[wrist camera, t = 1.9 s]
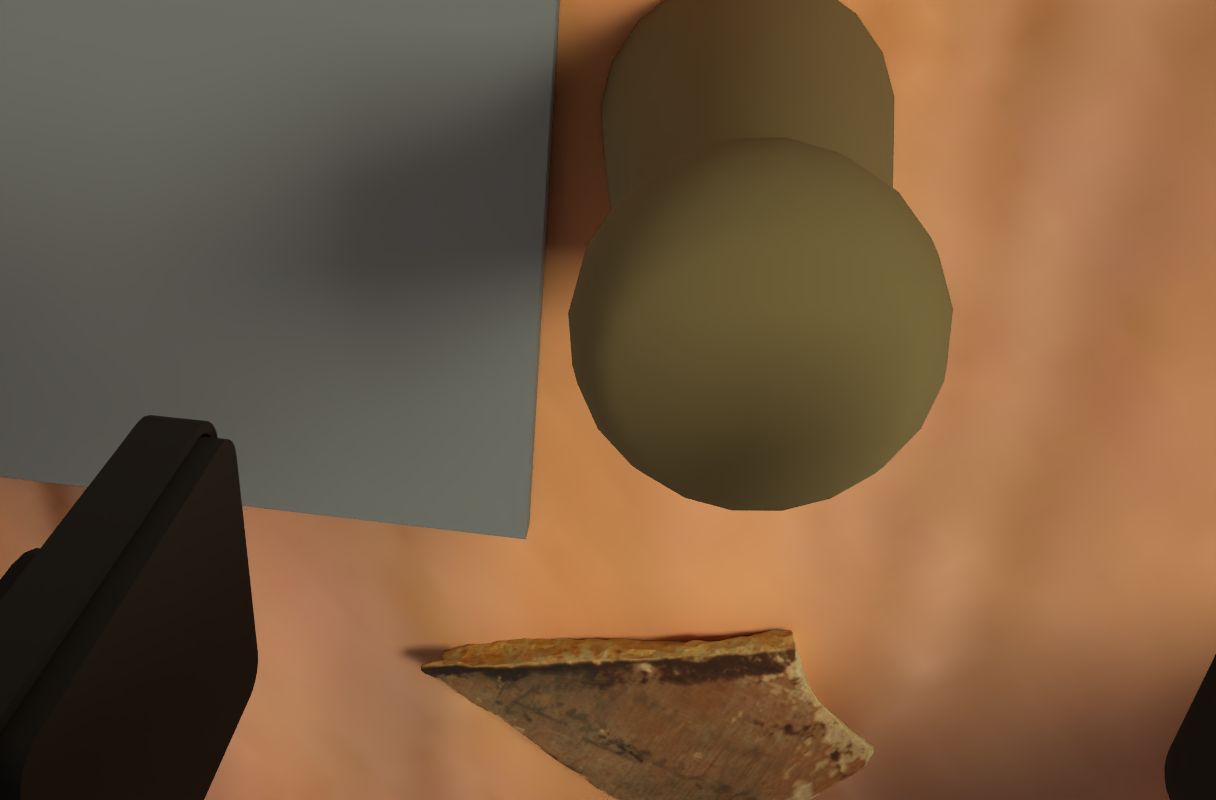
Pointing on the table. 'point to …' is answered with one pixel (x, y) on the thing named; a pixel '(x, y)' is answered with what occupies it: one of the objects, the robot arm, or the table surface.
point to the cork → (756, 259)
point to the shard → (665, 714)
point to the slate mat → (281, 244)
